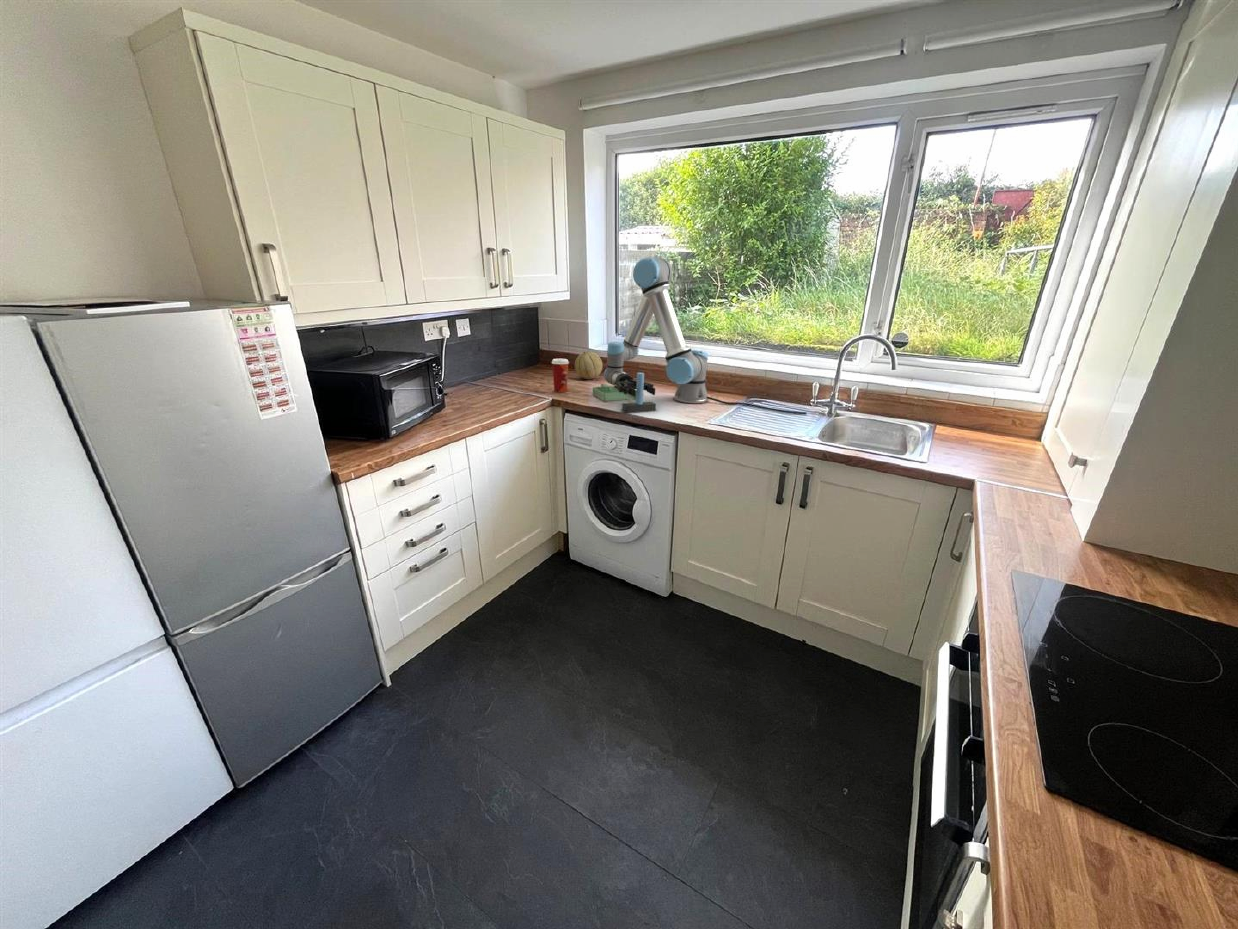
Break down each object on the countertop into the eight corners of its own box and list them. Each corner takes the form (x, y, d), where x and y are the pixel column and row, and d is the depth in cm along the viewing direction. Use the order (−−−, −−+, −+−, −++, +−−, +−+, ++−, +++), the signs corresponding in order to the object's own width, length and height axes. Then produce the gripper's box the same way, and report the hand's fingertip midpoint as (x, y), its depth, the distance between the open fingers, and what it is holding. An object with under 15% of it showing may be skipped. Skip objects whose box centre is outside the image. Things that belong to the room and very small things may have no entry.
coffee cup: (568, 393, 238) (567, 361, 232) (550, 392, 238) (550, 360, 232) (570, 389, 245) (569, 358, 240) (553, 388, 245) (552, 357, 240)
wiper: (655, 410, 213) (657, 373, 207) (625, 413, 208) (627, 374, 202) (651, 408, 216) (653, 371, 211) (621, 410, 211) (623, 373, 205)
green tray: (638, 398, 231) (638, 391, 230) (603, 401, 225) (603, 394, 224) (617, 387, 252) (618, 381, 251) (585, 389, 246) (585, 382, 245)
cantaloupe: (607, 378, 272) (608, 350, 266) (592, 383, 260) (592, 354, 254) (584, 375, 279) (585, 347, 273) (569, 379, 267) (569, 350, 261)
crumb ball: (634, 405, 221) (635, 397, 220) (632, 406, 218) (632, 399, 217) (627, 404, 222) (628, 397, 220) (625, 405, 219) (625, 398, 218)
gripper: (643, 387, 229) (666, 399, 210) (600, 390, 222) (620, 403, 202) (644, 371, 227) (668, 382, 207) (601, 373, 219) (621, 384, 199)
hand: (644, 392), depth 205 cm, fingers open, 8 cm apart
